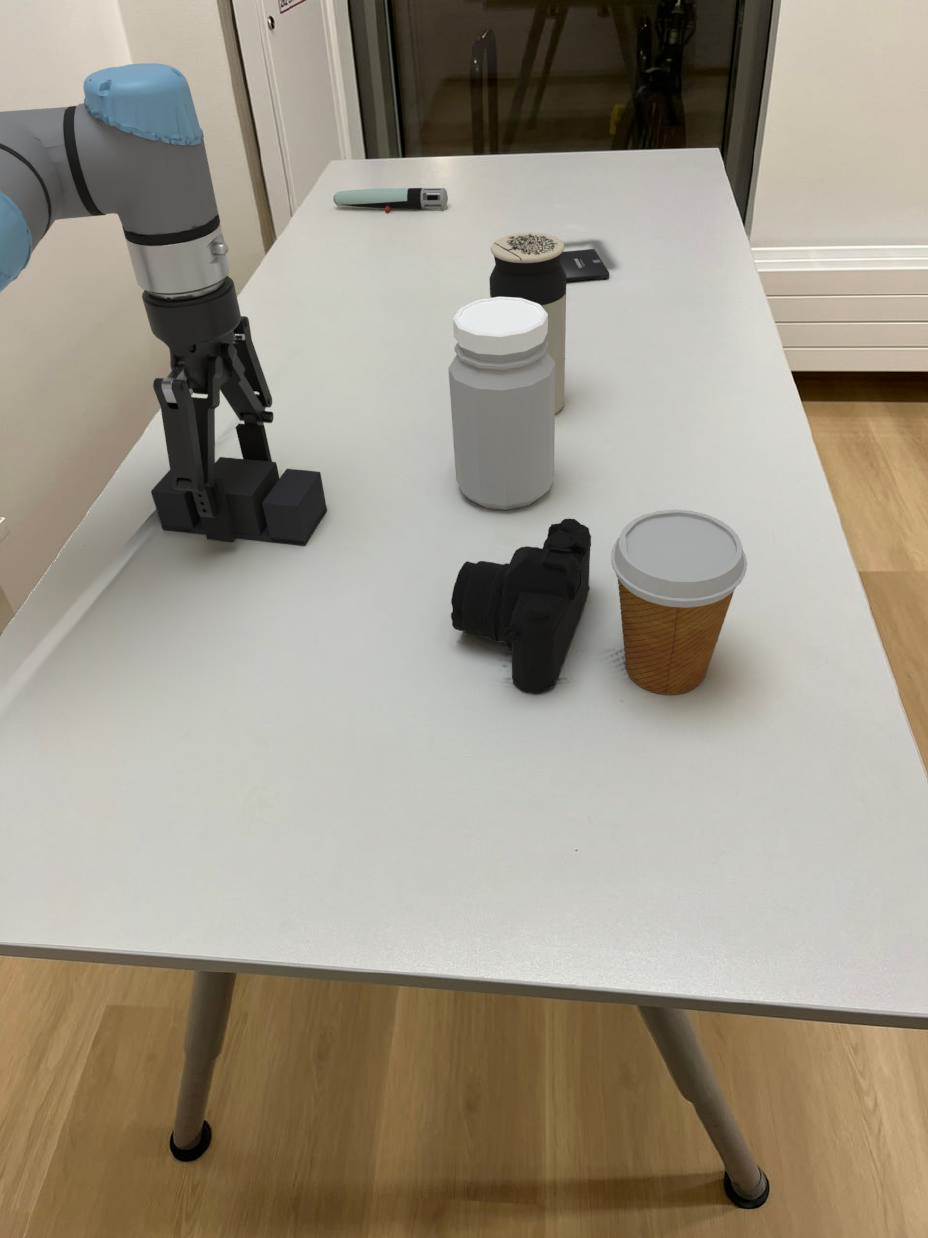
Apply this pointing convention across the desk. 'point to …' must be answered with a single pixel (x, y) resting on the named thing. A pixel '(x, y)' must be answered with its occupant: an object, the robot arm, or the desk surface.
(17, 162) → the robot arm
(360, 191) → the teal pen-shaped device
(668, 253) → the desk surface
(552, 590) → the film camera
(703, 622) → the disposable coffee cup
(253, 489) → the small block
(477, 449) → the jar
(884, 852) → the desk surface
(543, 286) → the travel mug
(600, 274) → the solid state drive
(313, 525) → the notched block
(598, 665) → the desk surface
